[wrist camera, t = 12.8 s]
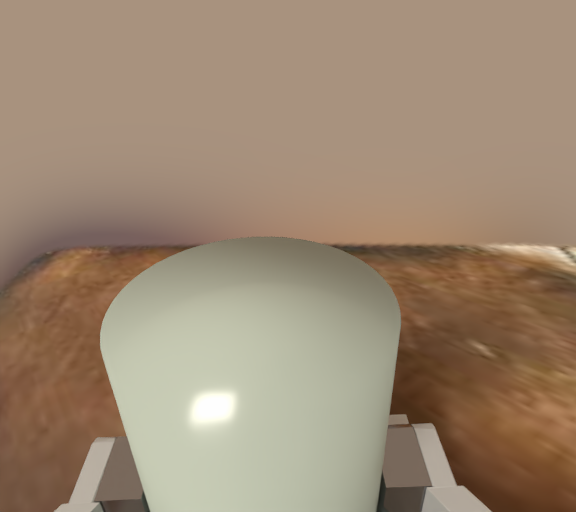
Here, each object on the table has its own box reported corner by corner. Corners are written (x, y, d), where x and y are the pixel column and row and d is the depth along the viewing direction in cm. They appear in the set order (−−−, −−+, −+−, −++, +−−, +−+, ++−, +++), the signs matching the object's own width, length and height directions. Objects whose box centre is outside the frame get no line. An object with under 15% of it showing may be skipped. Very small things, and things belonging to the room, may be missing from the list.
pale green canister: (348, 517, 16) (370, 232, 10) (378, 718, 11) (443, 415, 6) (202, 524, 16) (142, 240, 10) (176, 729, 11) (45, 433, 6)
